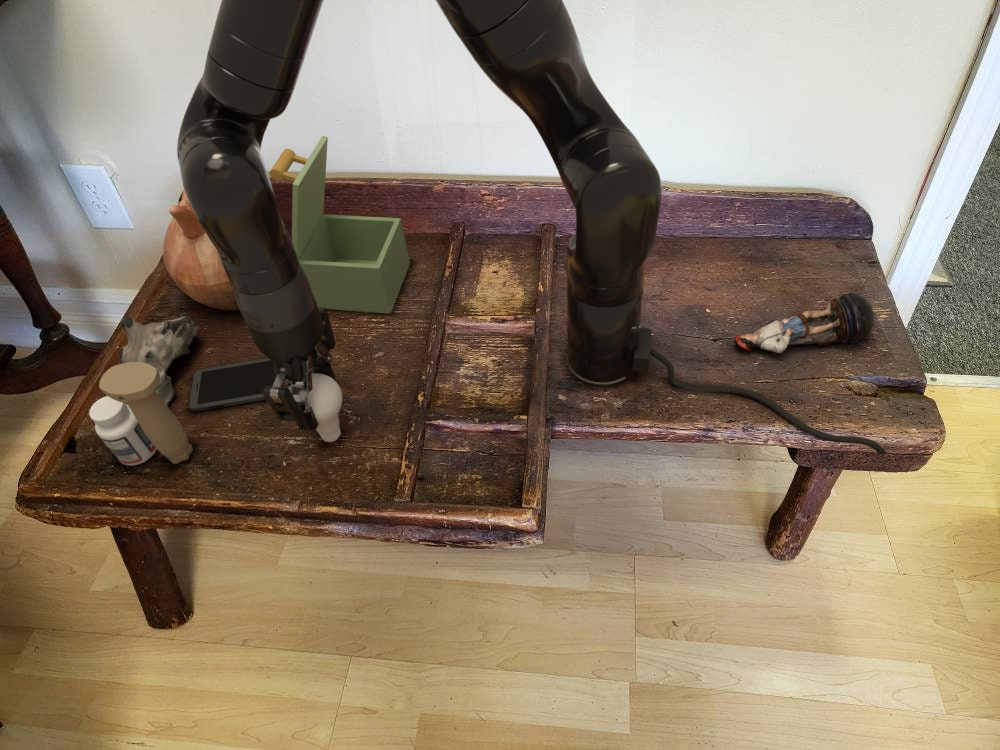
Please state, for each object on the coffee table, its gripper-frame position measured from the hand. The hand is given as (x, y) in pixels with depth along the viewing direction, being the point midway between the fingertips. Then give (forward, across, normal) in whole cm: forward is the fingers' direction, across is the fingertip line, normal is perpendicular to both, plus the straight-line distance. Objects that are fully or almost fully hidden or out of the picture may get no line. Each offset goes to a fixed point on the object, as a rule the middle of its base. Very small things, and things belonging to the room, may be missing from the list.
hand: (319, 405), depth 89 cm
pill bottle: (+7, -5, +25) cm, 26 cm away
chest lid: (-9, +29, +9) cm, 32 cm away
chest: (+7, +29, +5) cm, 30 cm away
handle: (+7, -5, +19) cm, 21 cm away
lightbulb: (+7, 0, 0) cm, 7 cm away
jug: (+7, +27, +24) cm, 37 cm away
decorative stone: (+7, +9, +28) cm, 30 cm away
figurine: (+7, +24, -59) cm, 64 cm away
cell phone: (+7, +7, +16) cm, 18 cm away
